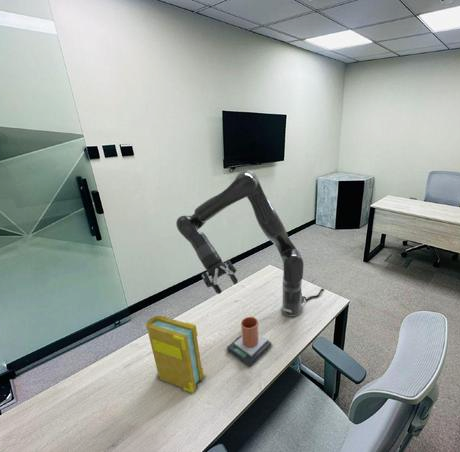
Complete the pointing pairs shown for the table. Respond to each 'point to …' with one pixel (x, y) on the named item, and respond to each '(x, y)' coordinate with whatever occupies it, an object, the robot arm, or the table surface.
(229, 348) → the scale
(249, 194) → the robot arm
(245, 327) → the cup
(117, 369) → the table surface
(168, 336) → the book
